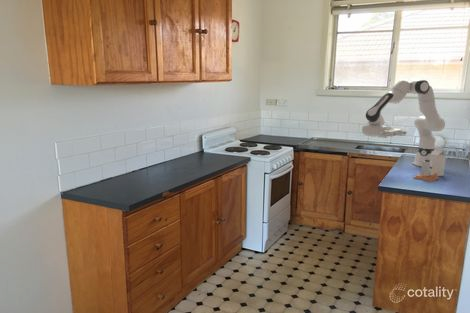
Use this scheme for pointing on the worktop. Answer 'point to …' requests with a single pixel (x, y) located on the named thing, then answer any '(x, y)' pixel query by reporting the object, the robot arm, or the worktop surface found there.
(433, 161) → the milk carton
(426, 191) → the worktop surface
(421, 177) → the coupler
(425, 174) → the lock
